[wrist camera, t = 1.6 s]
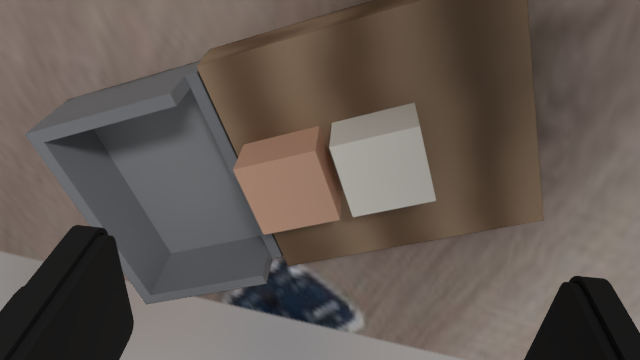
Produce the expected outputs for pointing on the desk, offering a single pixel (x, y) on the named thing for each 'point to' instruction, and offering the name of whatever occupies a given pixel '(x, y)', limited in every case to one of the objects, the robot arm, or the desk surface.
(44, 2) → the desk surface
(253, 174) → the tile terracotta
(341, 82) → the plate
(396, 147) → the tile cream
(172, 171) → the box
